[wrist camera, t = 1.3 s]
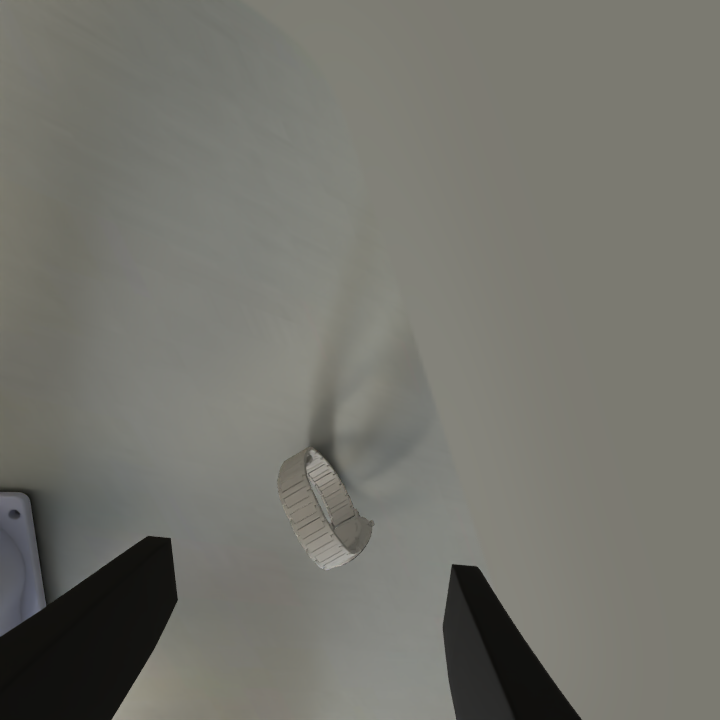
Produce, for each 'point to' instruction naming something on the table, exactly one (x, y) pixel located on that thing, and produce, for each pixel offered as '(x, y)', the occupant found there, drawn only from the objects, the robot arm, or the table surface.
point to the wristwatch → (316, 534)
